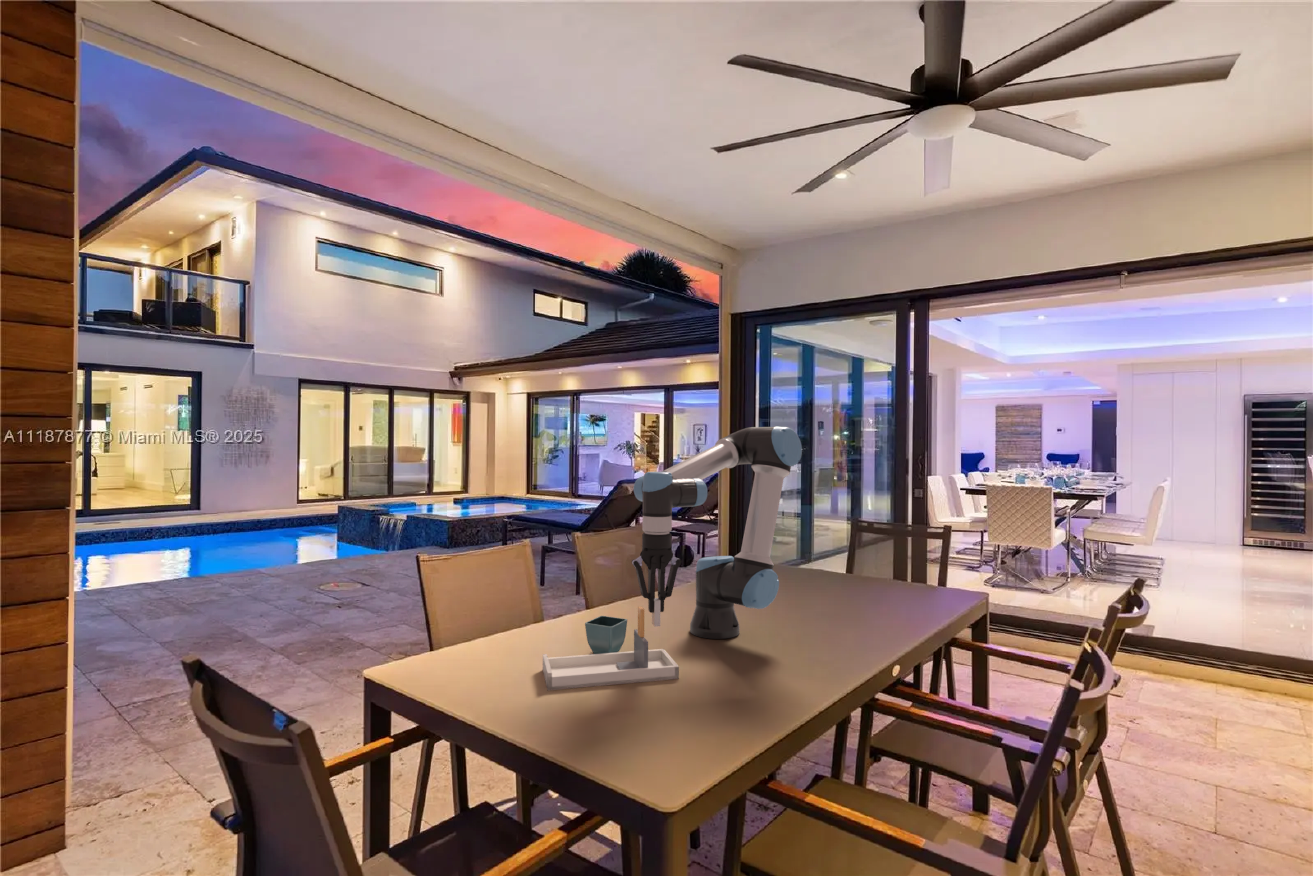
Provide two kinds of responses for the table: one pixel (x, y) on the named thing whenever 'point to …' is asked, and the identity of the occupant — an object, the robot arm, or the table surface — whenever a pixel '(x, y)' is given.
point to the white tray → (605, 669)
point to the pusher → (638, 646)
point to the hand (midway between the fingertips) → (656, 624)
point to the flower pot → (606, 634)
